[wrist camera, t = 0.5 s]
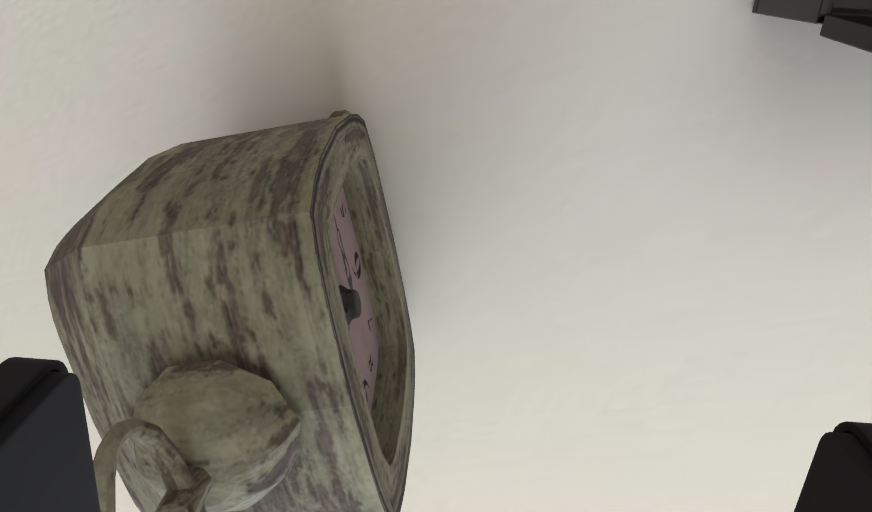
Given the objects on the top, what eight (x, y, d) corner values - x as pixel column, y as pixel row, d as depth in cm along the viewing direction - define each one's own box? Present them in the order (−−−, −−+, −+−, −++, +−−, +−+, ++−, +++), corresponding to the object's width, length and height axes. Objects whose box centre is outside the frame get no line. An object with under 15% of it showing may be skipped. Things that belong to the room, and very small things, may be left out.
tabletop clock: (422, 327, 40) (374, 806, 18) (274, 347, 41) (44, 830, 18) (370, 79, 35) (199, 305, 12) (200, 110, 36) (-261, 375, 13)
